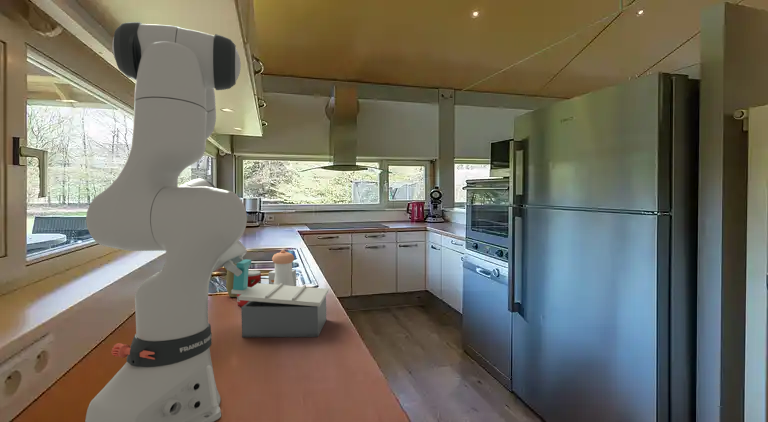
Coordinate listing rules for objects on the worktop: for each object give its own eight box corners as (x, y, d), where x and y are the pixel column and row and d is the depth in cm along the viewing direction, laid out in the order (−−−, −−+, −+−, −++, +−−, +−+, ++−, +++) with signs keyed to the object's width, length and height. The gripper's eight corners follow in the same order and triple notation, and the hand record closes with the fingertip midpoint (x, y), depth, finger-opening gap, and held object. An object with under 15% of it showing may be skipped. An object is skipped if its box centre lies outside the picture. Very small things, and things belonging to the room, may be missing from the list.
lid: (319, 306, 103) (321, 273, 103) (223, 298, 103) (225, 265, 103) (328, 292, 118) (330, 263, 117) (244, 285, 118) (245, 256, 118)
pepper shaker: (298, 305, 134) (296, 248, 133) (292, 311, 126) (291, 251, 126) (276, 305, 134) (275, 248, 133) (269, 311, 127) (268, 251, 126)
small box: (297, 298, 142) (296, 269, 141) (290, 303, 136) (289, 272, 136) (276, 297, 143) (276, 268, 143) (268, 301, 138) (268, 272, 137)
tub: (318, 336, 104) (317, 306, 103) (242, 337, 104) (241, 307, 104) (326, 319, 118) (325, 293, 117) (259, 320, 118) (258, 293, 118)
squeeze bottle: (253, 293, 150) (252, 246, 149) (241, 298, 142) (240, 249, 141) (234, 292, 152) (232, 245, 151) (221, 297, 144) (219, 248, 143)
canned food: (254, 308, 131) (253, 275, 130) (232, 307, 132) (231, 274, 132) (265, 301, 138) (265, 270, 138) (245, 300, 140) (244, 269, 139)
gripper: (198, 233, 99) (237, 272, 100) (230, 226, 120) (263, 258, 120) (180, 251, 100) (220, 289, 100) (215, 241, 120) (248, 273, 121)
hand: (243, 272), depth 110 cm, fingers closed on lid, 3 cm apart
